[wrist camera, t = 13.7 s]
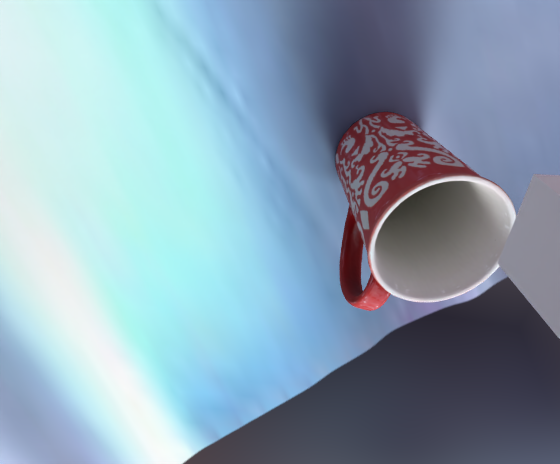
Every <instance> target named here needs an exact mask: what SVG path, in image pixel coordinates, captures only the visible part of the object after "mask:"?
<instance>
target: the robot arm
mask: <svg viewBox="0 0 560 464" xmlns="http://www.w3.org/2000/svg"><path fill="white" fill-rule="evenodd" d="M498 264H499V266H500V267H501V268H502V269H503V271H504V272H505V273H506V274H507V275H508V277H509V278H510V279H511V280H512V282H513V283H514V284H515V285H516V286H517V288H518V289H519V290H520V291H521V292H522V294H523V295H524V296H525V297H526V299H527V300H528V301H529V302H530V303H531V305H532V306H533V307H534V308H535V310H536V311H537V312H538V313H539V314H540V316H541V317H542V318H543V319H544V321H545V322H546V323H547V324H548V325H549V327H550V328H551V329H552V330H553V331H554V333H555V334H556V335H557V336H558V338H559V339H560V176H558V175H539V174H534V175H533V177H532V180H531V182H530V184H529V187H528V189H527V192H526V194H525V197H524V199H523V202H522V204H521V207H520V209H519V211H518V214H517V216H516V219H515V221H514V224H513V226H512V229H511V231H510V234H509V236H508V238H507V241H506V243H505V246H504V248H503V251H502V253H501V256H500V258H499V260H498Z"/></svg>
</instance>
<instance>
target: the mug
mask: <svg viewBox="0 0 560 464" xmlns="http://www.w3.org/2000/svg"><path fill="white" fill-rule="evenodd" d="M335 162H336V169H337V173H338V176H339V179H340V181H341V184H342V186H343V189H344V191H345V194H346V197H347V199H348V202H349V209H348V214H347V218H346V222H345V228H344V234H343V240H342V247H341V256H340V284H341V289H342V292H343V295H344V297H345V299H346V300H347V301H348V303H350V304H351V305H352V306H354V307H357V308H360V309H364V310H369V311H371V310H375V309H377V308H379V307H381V306H382V305H383V304H384V303H385V302H386V300H387V299H388V297H389V296H390V294H392V295H394V296H396V297H399V298H402V299H405V300H409V301H415V302H436V301H443V300H447V299H450V298H453V297H456V296H459V295H461V294H464V293H466V292H468V291H470V290H472V289H473V288H475V287H476V286H478V285H479V284H481V283H482V282H484V281H485V280H486V279H487V278H488V277H490V276H491V275H492V274H493V273H494V272H495V271H496V269H497V268H498V267H499V264H498V260H499V258H500V256H501V253H502V251H503V248H504V246H505V243H506V241H507V238H508V236H509V234H510V231H511V229H512V226H513V224H514V221H515V219H516V213H515V209H514V206H513V203H512V201H511V200H510V198H509V196H508V195H507V194H506V193H505V191H504V190H503V189H502V188H501V187H500V186H498V185H497V184H495V183H494V182H492V181H490V180H488V179H486V178H483V177H481V176H480V175H479V174H477V173H476V172H475V171H474V170H472V169H471V168H470V167H469V166H467V165H466V164H465V163H464V162H462V161H461V160H460V159H458V158H457V157H456V156H454V155H453V154H452V153H451V152H450V151H448V150H447V149H446V148H444V147H443V146H442V145H441V144H439V143H438V142H437V141H436V140H434V139H433V138H432V137H430V136H429V135H428V134H427V133H425V132H424V131H423V130H422V129H420V128H419V127H418V126H417V125H416V124H414V123H413V122H412V121H410V120H409V119H407V118H406V117H404V116H402V115H400V114H397V113H392V112H379V113H374V114H370V115H368V116H366V117H364V118H362V119H360V120H358V121H357V122H356V123H354V124H353V125H352V126H351V127H350V128H349V129H348V130H347V132H346V133H345V134H344V135H343V137H342V139H341V140H340V143H339V145H338V148H337V152H336V158H335ZM363 244H364V245H365V247H366V250H367V254H368V263H369V267H370V270H371V275H370V278H369V281H368V284H367V286H366V288H365V289H364V291H363V290H362V285H361V262H362V251H363Z"/></svg>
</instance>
